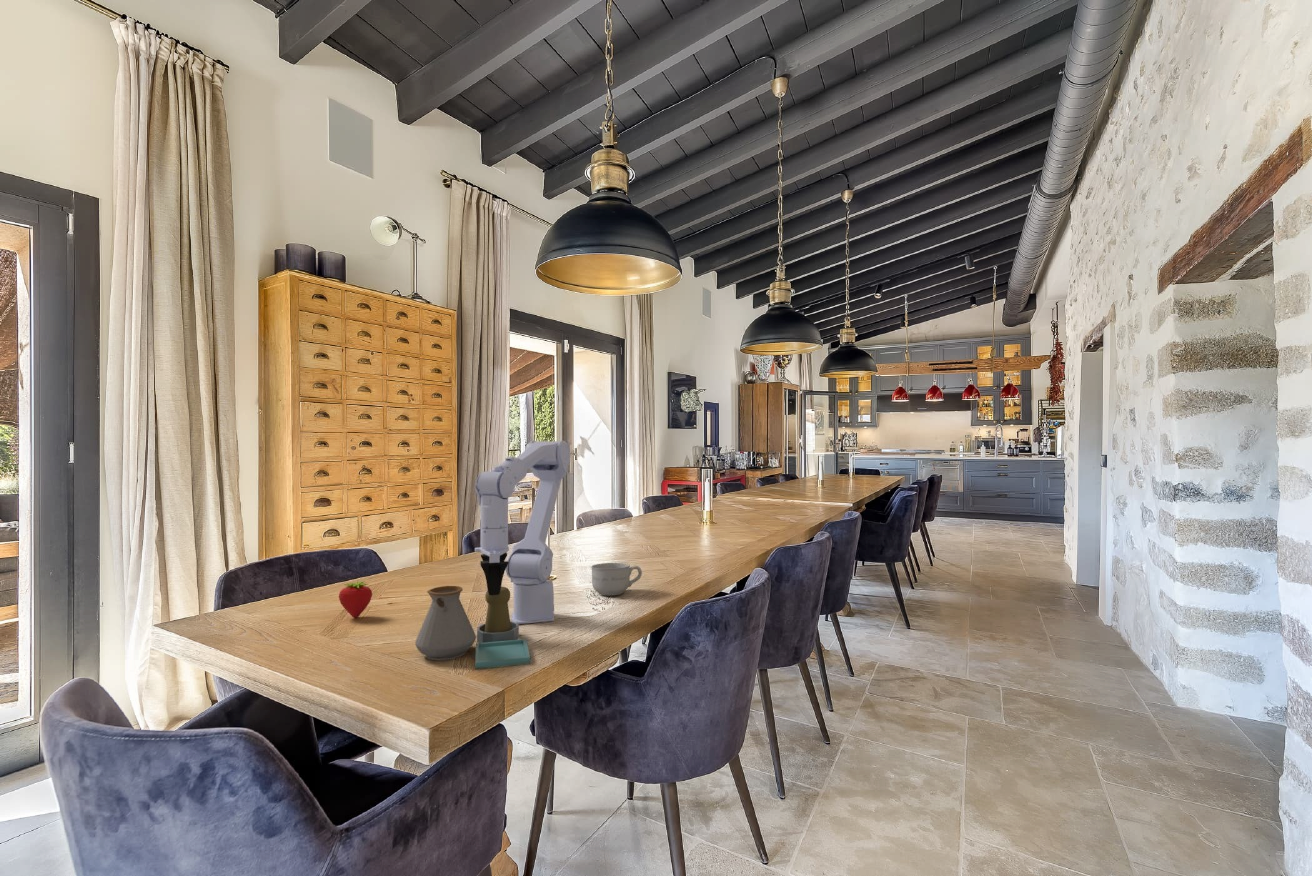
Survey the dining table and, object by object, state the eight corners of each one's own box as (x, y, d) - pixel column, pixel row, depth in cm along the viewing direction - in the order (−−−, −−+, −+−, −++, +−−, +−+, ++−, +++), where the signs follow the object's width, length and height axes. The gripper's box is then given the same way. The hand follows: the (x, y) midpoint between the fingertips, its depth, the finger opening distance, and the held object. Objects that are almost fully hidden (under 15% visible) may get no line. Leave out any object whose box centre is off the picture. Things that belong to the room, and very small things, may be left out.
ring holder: (517, 630, 135) (517, 619, 135) (519, 643, 127) (519, 631, 127) (477, 634, 133) (477, 622, 133) (477, 647, 124) (476, 635, 124)
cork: (517, 635, 132) (517, 585, 132) (502, 644, 126) (502, 592, 126) (494, 632, 134) (493, 583, 134) (477, 641, 128) (477, 589, 128)
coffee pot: (419, 646, 125) (419, 574, 125) (476, 641, 128) (476, 570, 128) (403, 687, 105) (403, 601, 104) (472, 680, 107) (472, 596, 107)
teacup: (586, 597, 163) (586, 568, 163) (597, 587, 174) (597, 560, 174) (637, 599, 161) (637, 569, 161) (644, 589, 171) (644, 561, 171)
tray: (525, 644, 126) (525, 638, 126) (529, 663, 116) (529, 657, 115) (475, 649, 123) (475, 643, 123) (475, 669, 113) (475, 662, 113)
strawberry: (345, 614, 148) (345, 573, 148) (376, 613, 148) (376, 573, 148) (333, 621, 142) (333, 578, 142) (365, 621, 142) (365, 578, 142)
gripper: (475, 523, 136) (475, 584, 136) (474, 532, 122) (473, 600, 122) (507, 522, 138) (507, 582, 137) (510, 531, 124) (509, 597, 123)
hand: (493, 590), depth 130 cm, fingers open, 7 cm apart
